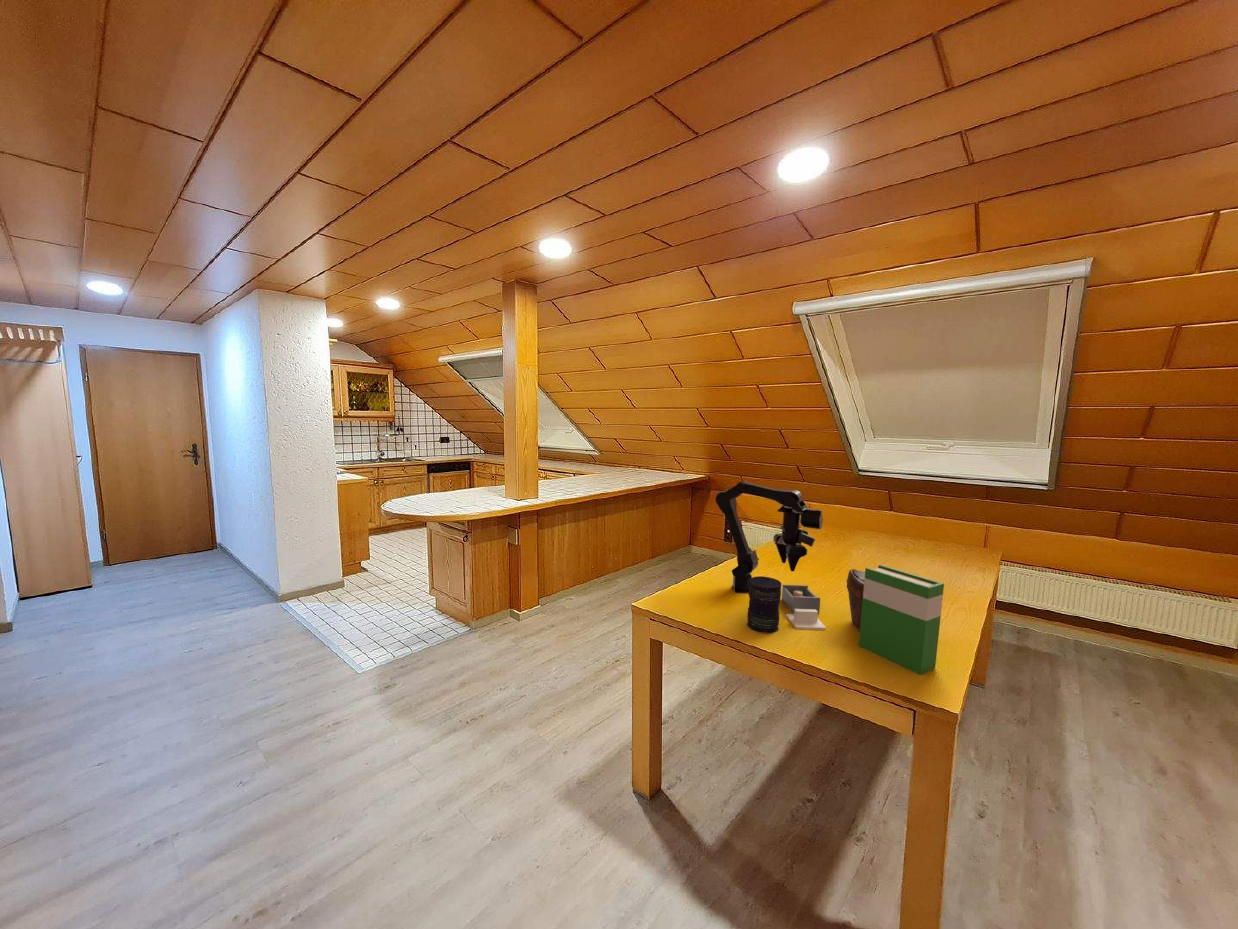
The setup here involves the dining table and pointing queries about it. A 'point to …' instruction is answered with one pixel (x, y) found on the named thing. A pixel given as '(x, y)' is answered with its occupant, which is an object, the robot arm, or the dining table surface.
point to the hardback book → (901, 617)
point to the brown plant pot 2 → (856, 595)
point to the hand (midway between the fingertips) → (788, 567)
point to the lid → (805, 619)
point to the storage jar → (764, 604)
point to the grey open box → (799, 598)
